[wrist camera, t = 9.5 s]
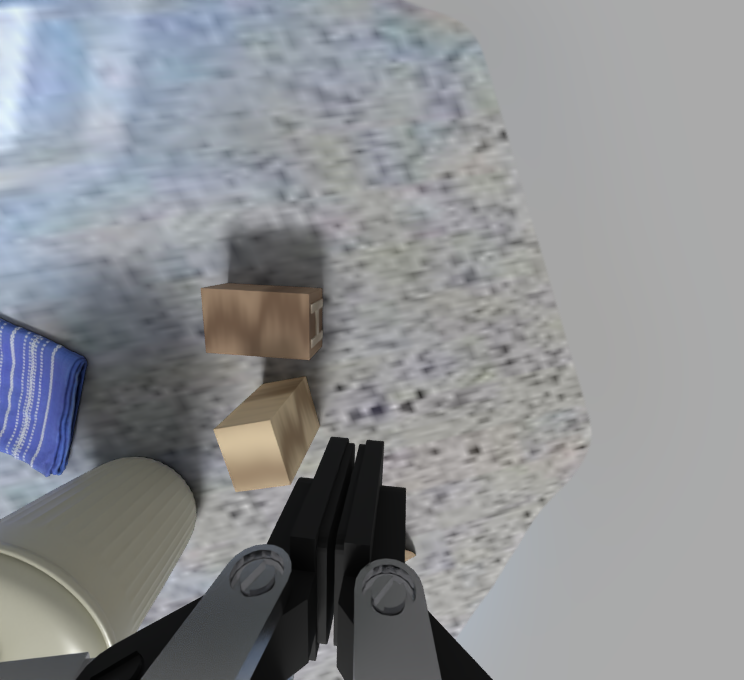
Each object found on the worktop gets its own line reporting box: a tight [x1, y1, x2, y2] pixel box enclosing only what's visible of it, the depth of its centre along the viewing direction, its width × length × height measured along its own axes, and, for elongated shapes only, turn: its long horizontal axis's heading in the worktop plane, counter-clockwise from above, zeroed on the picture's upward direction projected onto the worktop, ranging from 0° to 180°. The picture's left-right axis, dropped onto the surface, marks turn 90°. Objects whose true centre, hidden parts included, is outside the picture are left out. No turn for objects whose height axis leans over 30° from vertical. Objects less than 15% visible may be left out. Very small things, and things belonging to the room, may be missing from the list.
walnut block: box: [201, 283, 323, 360], centre depth 34 cm, size 6×5×10 cm
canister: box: [0, 457, 196, 662], centre depth 34 cm, size 18×18×21 cm
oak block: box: [213, 376, 320, 492], centre depth 34 cm, size 6×5×10 cm
